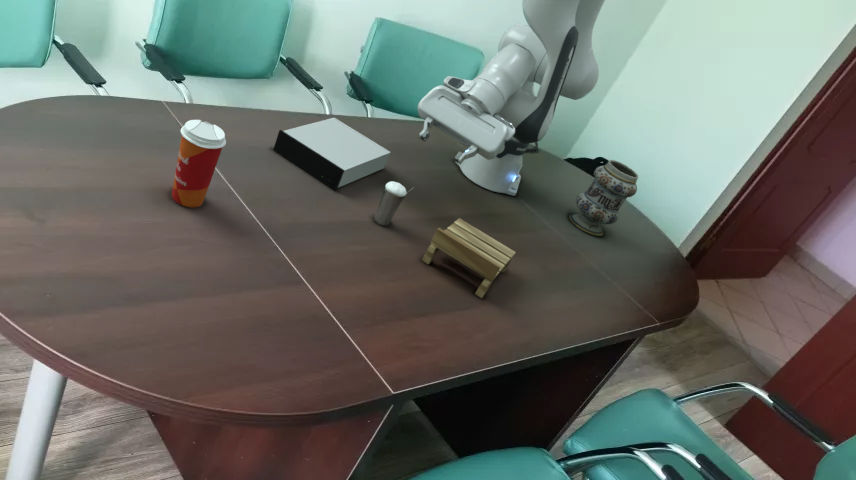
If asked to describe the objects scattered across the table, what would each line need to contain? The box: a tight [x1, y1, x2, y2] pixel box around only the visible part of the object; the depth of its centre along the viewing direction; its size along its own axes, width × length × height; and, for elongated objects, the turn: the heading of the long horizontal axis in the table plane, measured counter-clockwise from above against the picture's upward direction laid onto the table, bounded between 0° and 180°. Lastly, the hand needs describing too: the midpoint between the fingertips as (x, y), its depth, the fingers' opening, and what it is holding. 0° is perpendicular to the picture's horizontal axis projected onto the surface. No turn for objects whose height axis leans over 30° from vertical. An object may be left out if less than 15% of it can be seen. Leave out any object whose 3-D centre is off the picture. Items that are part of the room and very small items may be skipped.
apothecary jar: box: [569, 159, 639, 237], centre depth 176 cm, size 12×12×18 cm
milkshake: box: [373, 180, 415, 227], centre depth 138 cm, size 4×5×10 cm
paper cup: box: [171, 119, 227, 208], centre depth 117 cm, size 8×8×14 cm
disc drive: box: [272, 117, 391, 191], centre depth 154 cm, size 18×22×5 cm
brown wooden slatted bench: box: [421, 217, 516, 299], centre depth 137 cm, size 17×14×8 cm
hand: (439, 149), depth 141 cm, fingers open, 8 cm apart
